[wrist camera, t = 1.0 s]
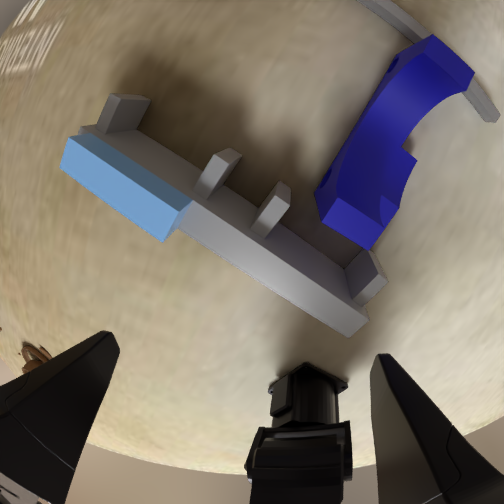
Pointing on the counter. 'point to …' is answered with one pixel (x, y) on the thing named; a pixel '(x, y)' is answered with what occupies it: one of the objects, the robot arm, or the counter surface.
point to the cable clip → (387, 141)
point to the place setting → (33, 363)
